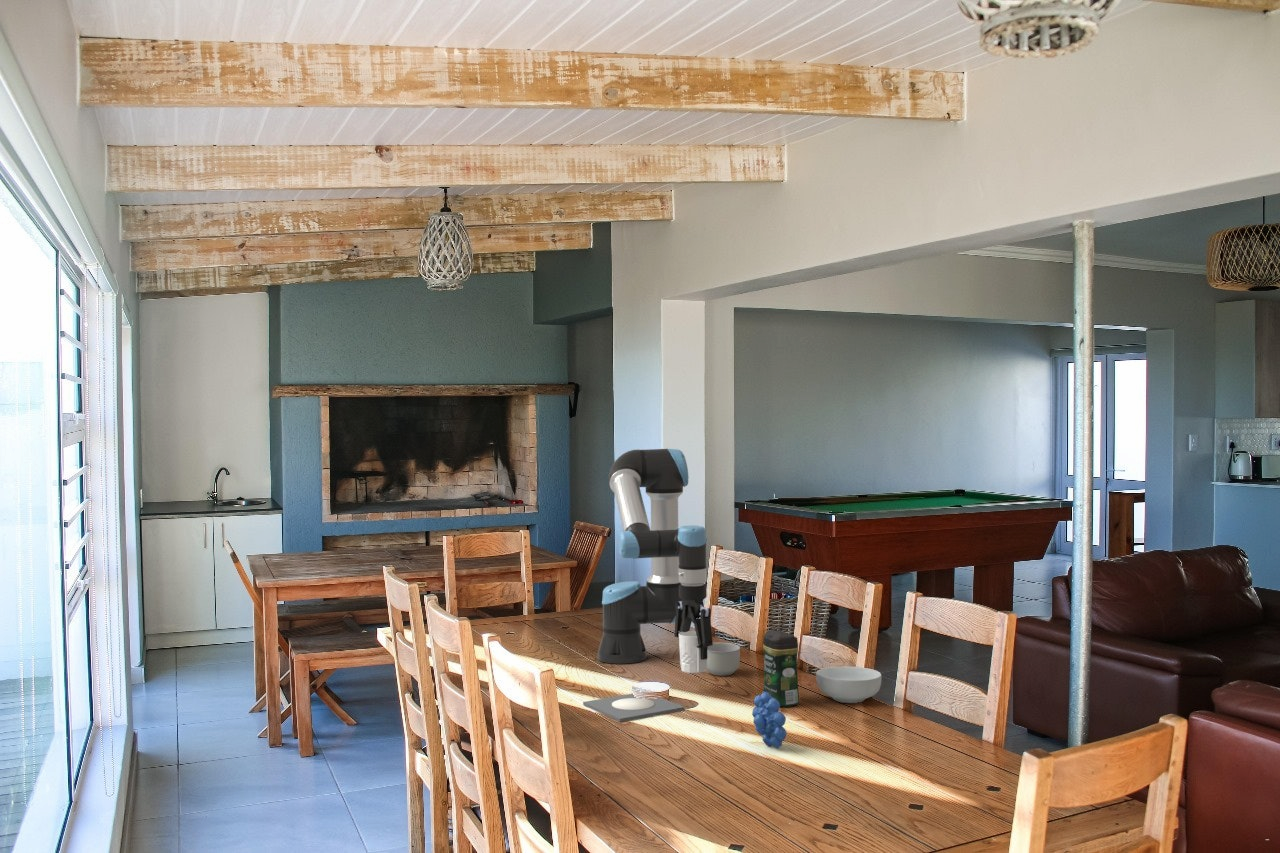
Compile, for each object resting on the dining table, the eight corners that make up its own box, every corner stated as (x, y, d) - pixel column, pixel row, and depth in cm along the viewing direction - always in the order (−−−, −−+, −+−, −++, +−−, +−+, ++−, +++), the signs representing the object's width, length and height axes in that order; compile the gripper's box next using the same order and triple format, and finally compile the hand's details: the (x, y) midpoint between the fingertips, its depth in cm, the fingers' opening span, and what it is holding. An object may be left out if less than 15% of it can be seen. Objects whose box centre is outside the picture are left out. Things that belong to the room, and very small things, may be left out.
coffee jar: (759, 700, 284) (758, 629, 283) (786, 697, 286) (785, 627, 286) (775, 709, 275) (774, 636, 274) (803, 706, 277) (802, 633, 277)
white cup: (677, 667, 296) (677, 630, 295) (705, 666, 296) (705, 630, 296) (680, 674, 288) (680, 637, 287) (710, 673, 288) (709, 636, 288)
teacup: (740, 669, 318) (740, 642, 318) (740, 678, 308) (740, 650, 308) (693, 668, 320) (693, 641, 320) (691, 677, 309) (691, 649, 309)
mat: (583, 705, 281) (583, 701, 281) (645, 694, 291) (645, 690, 291) (619, 722, 265) (619, 718, 265) (684, 710, 275) (684, 706, 275)
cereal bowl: (894, 698, 284) (893, 671, 283) (860, 711, 271) (859, 683, 271) (838, 688, 295) (838, 662, 295) (803, 700, 283) (803, 673, 283)
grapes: (739, 742, 247) (738, 689, 247) (763, 737, 251) (763, 686, 250) (768, 755, 237) (767, 701, 237) (793, 751, 240) (792, 697, 240)
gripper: (660, 579, 298) (661, 661, 299) (702, 590, 281) (703, 678, 281) (683, 577, 302) (684, 658, 303) (726, 587, 285) (726, 673, 285)
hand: (693, 667), depth 292 cm, fingers closed on white cup, 7 cm apart
